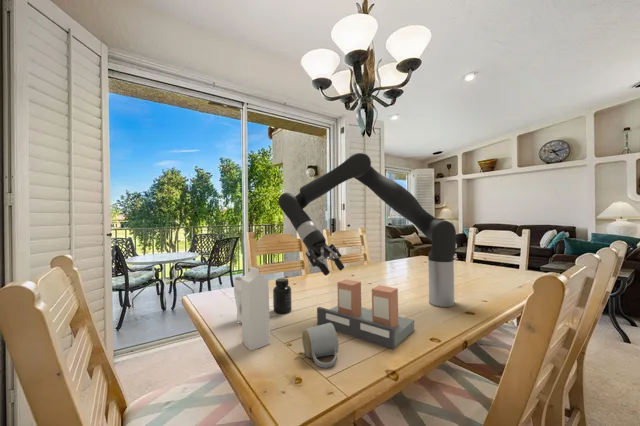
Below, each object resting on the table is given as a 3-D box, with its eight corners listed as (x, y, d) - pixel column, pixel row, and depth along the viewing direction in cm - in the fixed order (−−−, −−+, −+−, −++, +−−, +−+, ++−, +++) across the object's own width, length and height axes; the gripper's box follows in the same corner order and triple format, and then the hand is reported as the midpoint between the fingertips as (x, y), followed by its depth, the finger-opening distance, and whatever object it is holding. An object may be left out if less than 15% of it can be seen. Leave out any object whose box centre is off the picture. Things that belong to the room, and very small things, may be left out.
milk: (250, 351, 74) (248, 271, 74) (242, 342, 79) (239, 267, 79) (270, 344, 78) (268, 267, 78) (261, 336, 83) (259, 264, 83)
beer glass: (259, 317, 98) (258, 276, 98) (248, 325, 91) (246, 280, 91) (242, 315, 100) (241, 274, 100) (230, 323, 94) (229, 279, 93)
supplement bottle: (290, 307, 108) (289, 276, 108) (292, 313, 101) (292, 281, 101) (272, 308, 106) (272, 278, 106) (274, 315, 100) (273, 282, 100)
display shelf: (343, 310, 103) (343, 296, 103) (414, 329, 85) (413, 312, 85) (316, 324, 91) (316, 308, 91) (392, 349, 73) (392, 329, 73)
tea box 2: (380, 319, 86) (379, 285, 86) (398, 324, 82) (397, 288, 82) (372, 325, 82) (371, 289, 82) (390, 330, 78) (389, 292, 78)
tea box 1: (346, 310, 94) (346, 279, 94) (361, 314, 91) (360, 281, 91) (337, 315, 91) (337, 282, 90) (352, 319, 87) (352, 285, 87)
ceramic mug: (301, 350, 74) (300, 322, 74) (329, 345, 77) (328, 318, 77) (313, 373, 64) (312, 340, 64) (344, 365, 67) (344, 334, 67)
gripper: (303, 231, 94) (329, 269, 88) (328, 227, 105) (353, 261, 99) (292, 244, 98) (316, 282, 91) (317, 239, 109) (341, 273, 102)
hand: (335, 271), depth 95 cm, fingers open, 8 cm apart
